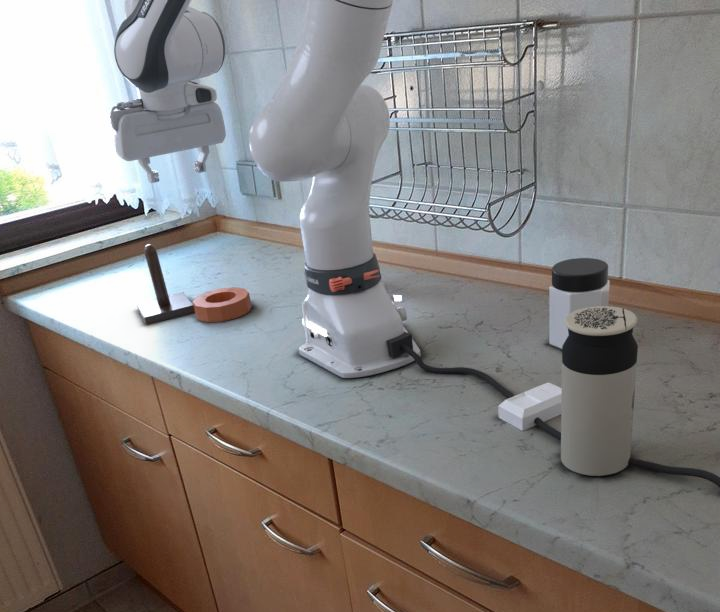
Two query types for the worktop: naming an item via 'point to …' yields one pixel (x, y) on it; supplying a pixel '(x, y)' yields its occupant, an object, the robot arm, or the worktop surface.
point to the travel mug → (598, 390)
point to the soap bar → (532, 406)
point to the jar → (575, 292)
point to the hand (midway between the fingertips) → (177, 176)
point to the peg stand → (161, 294)
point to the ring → (222, 304)
